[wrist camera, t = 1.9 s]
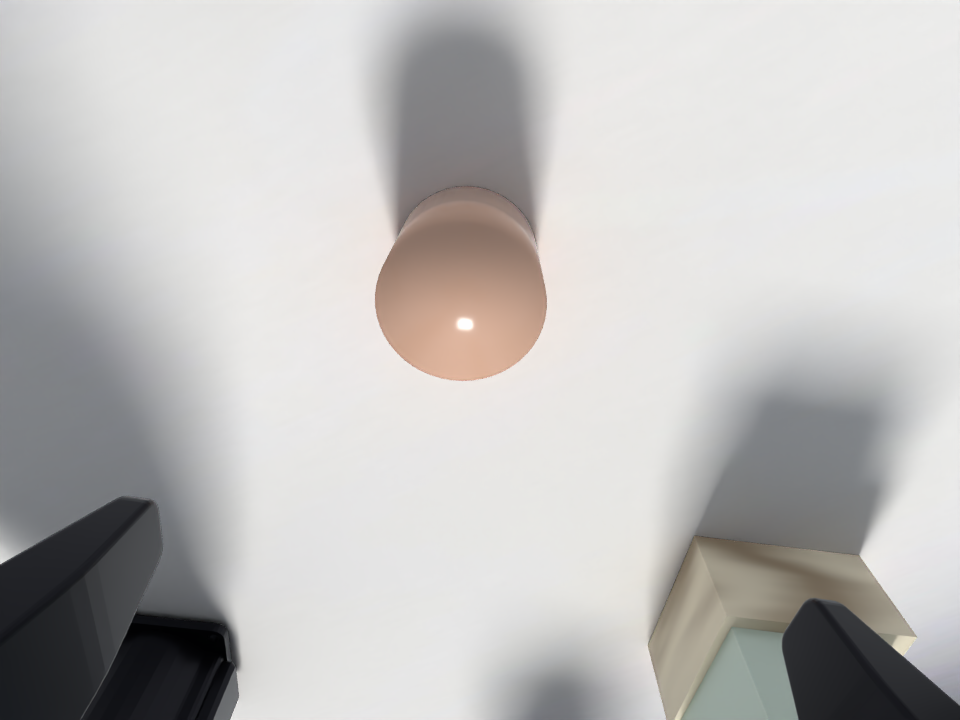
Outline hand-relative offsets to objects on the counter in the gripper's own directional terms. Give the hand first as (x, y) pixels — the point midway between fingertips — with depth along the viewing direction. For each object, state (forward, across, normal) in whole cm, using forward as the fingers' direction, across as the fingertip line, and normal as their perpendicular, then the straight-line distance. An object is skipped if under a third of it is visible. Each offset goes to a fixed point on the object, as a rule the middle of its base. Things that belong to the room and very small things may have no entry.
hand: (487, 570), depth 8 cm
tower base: (+12, -14, +13) cm, 23 cm away
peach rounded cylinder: (+12, +1, 0) cm, 12 cm away
